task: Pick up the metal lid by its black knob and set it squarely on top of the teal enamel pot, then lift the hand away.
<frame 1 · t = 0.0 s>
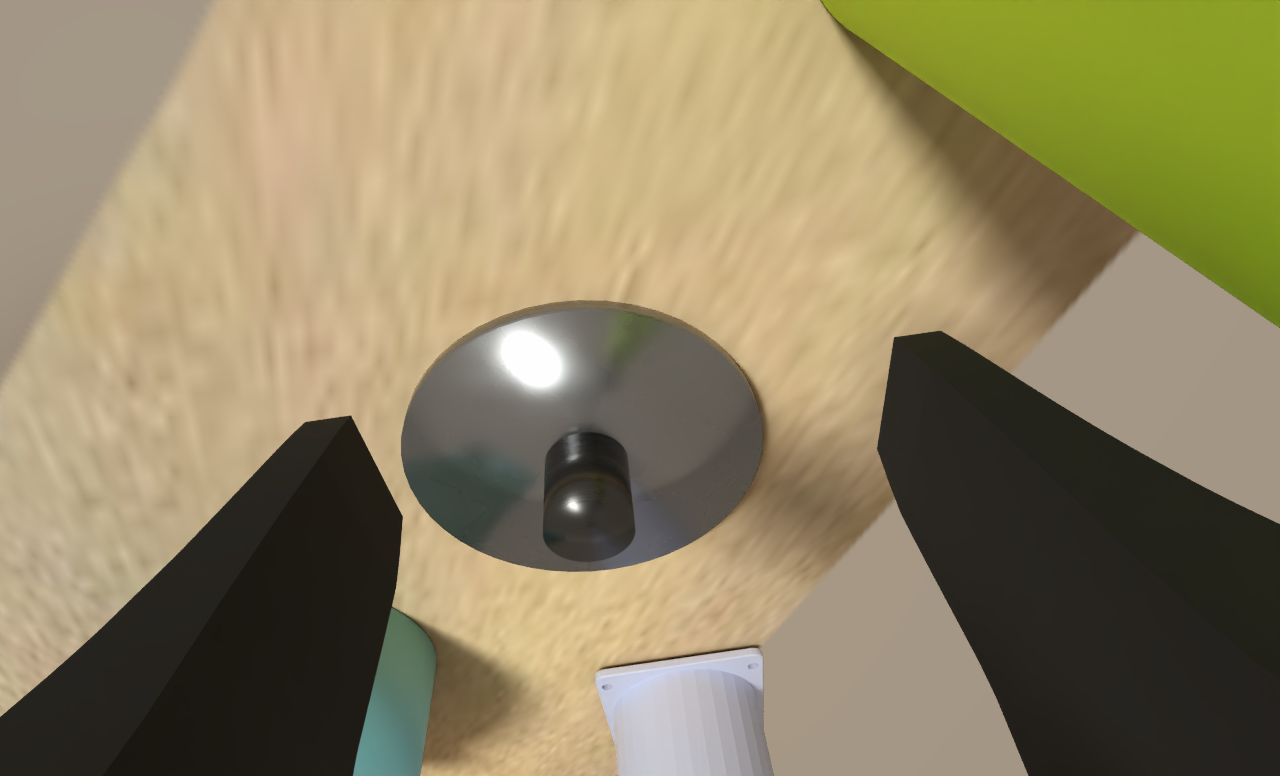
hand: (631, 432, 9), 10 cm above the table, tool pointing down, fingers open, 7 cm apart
lid: (585, 442, 24), on the table
pot: (306, 659, 30), on the table
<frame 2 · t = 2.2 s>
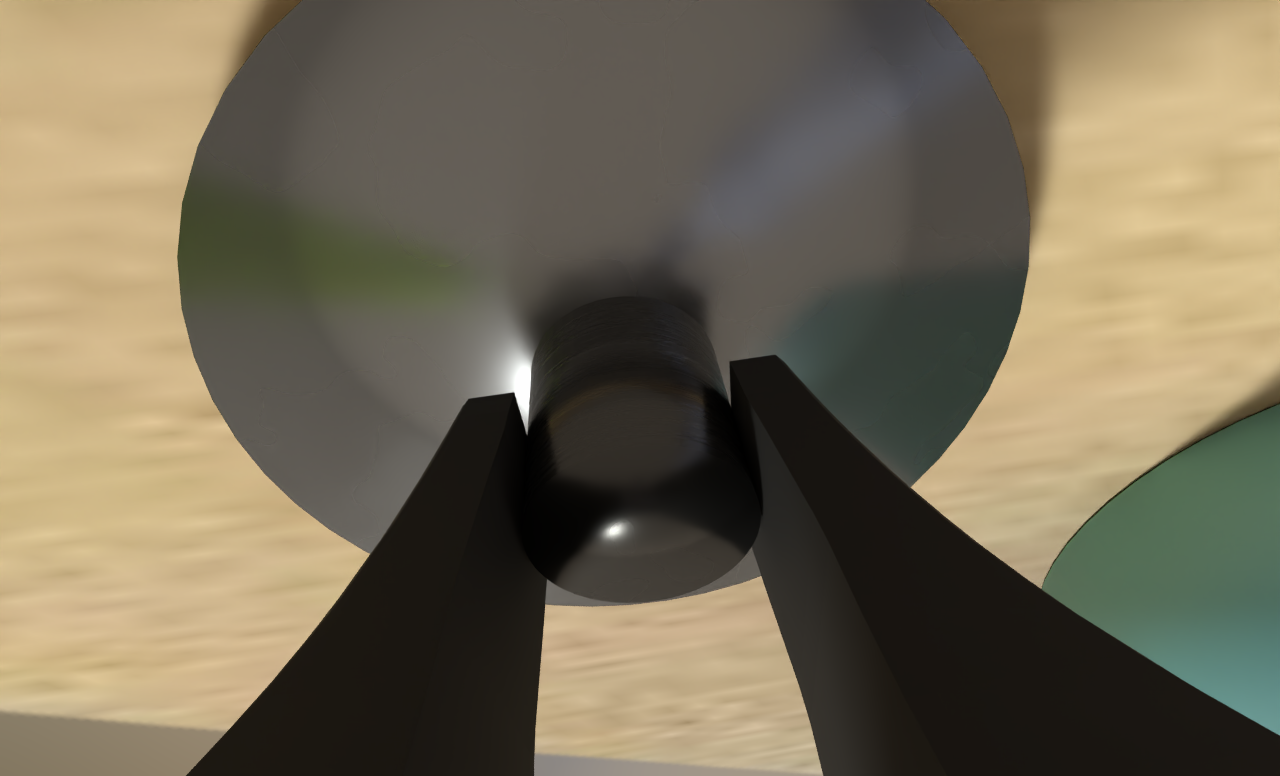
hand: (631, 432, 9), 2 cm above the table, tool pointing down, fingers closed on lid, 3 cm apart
lid: (620, 338, 11), on the table, touching gripper
pot: (1269, 546, 17), on the table
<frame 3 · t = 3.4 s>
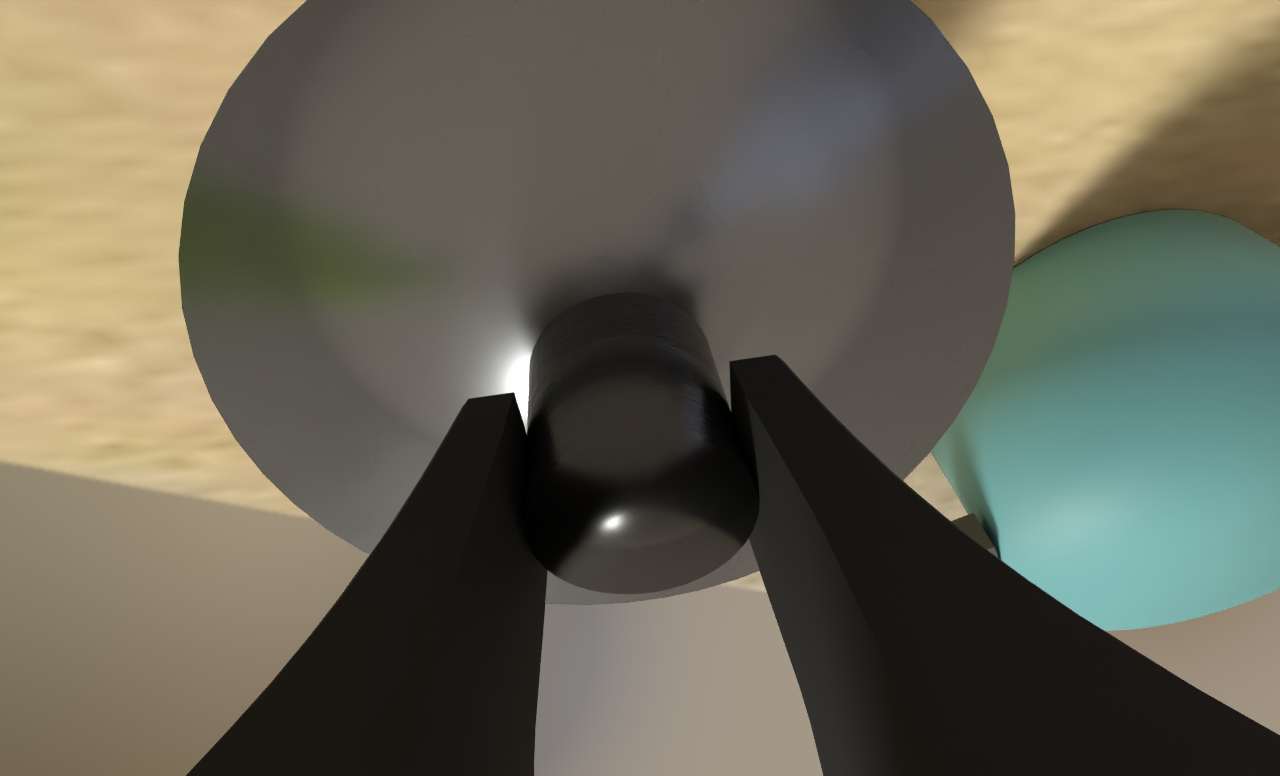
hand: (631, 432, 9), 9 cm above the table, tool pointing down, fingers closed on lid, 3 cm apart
lid: (616, 335, 11), point 7 cm above the table, touching gripper
pot: (1088, 368, 22), on the table
when the fingers open (9 cm above the table, at t = 5.1 s): lid stays where it is, resting on pot.
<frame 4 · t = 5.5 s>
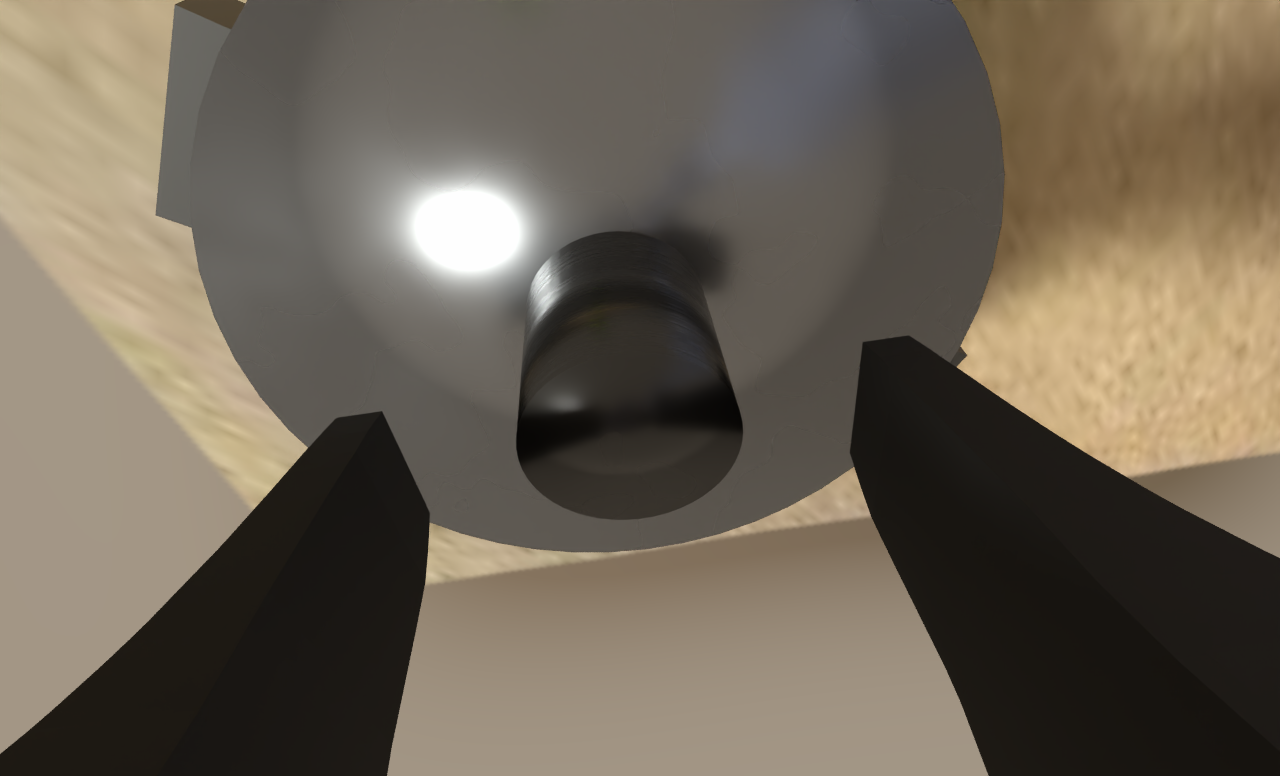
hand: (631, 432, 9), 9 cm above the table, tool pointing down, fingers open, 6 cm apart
lid: (612, 280, 12), point 6 cm above the table, touching pot
pot: (601, 173, 17), on the table
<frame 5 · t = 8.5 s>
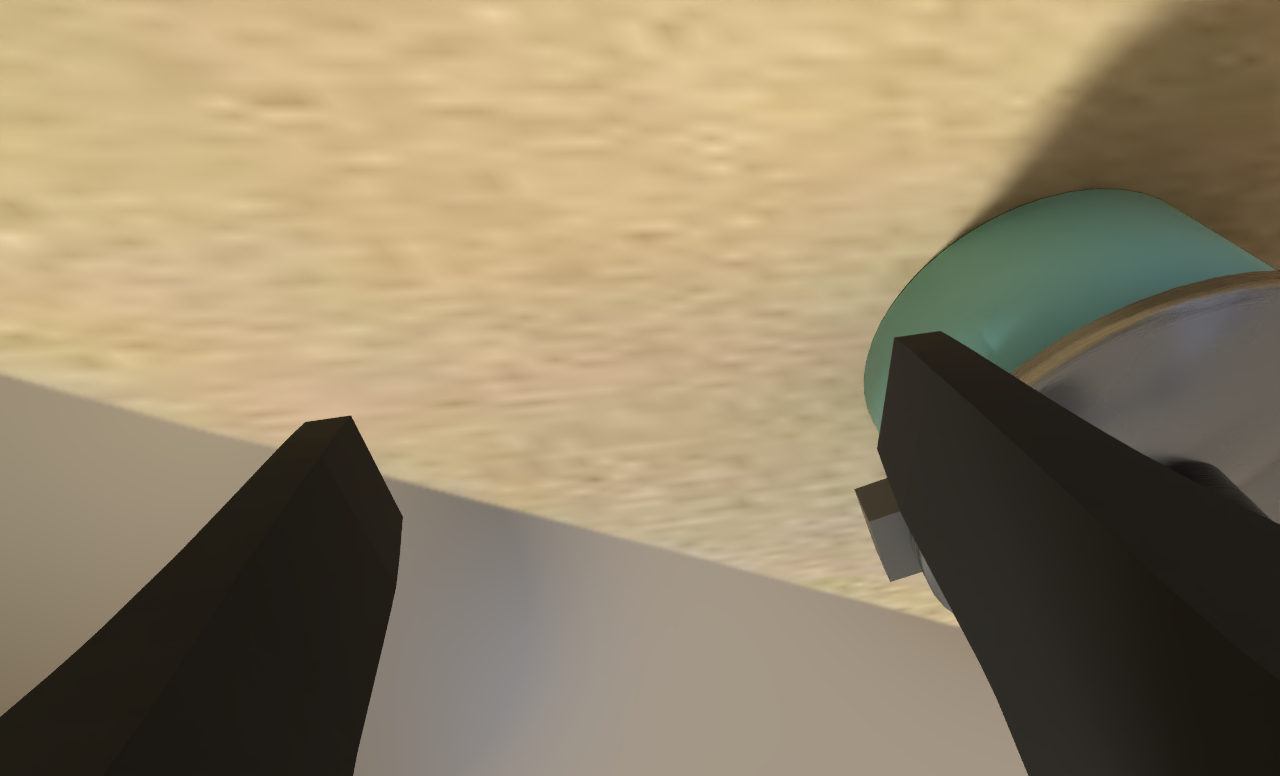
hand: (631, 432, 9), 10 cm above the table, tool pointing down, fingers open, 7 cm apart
lid: (1137, 473, 18), point 6 cm above the table, touching pot
pot: (1028, 347, 23), on the table
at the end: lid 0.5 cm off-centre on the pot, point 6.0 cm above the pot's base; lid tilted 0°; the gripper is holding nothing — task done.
